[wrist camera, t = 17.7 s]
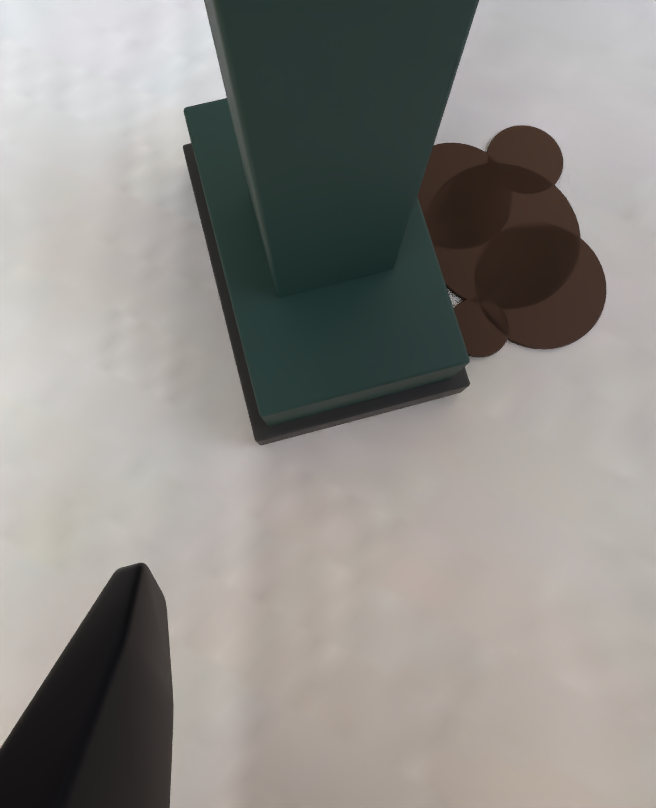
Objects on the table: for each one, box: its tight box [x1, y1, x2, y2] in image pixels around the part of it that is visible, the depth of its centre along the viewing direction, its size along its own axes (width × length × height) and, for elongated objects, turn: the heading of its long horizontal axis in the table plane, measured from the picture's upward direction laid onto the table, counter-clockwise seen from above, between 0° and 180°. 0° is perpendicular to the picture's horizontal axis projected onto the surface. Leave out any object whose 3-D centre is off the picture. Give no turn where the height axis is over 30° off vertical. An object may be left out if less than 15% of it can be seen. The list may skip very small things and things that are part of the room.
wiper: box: [183, 0, 479, 445], centre depth 10 cm, size 9×6×13 cm, turn 15°
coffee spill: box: [417, 126, 606, 357], centre depth 17 cm, size 7×6×1 cm
